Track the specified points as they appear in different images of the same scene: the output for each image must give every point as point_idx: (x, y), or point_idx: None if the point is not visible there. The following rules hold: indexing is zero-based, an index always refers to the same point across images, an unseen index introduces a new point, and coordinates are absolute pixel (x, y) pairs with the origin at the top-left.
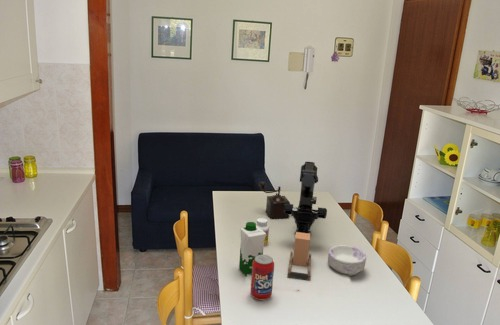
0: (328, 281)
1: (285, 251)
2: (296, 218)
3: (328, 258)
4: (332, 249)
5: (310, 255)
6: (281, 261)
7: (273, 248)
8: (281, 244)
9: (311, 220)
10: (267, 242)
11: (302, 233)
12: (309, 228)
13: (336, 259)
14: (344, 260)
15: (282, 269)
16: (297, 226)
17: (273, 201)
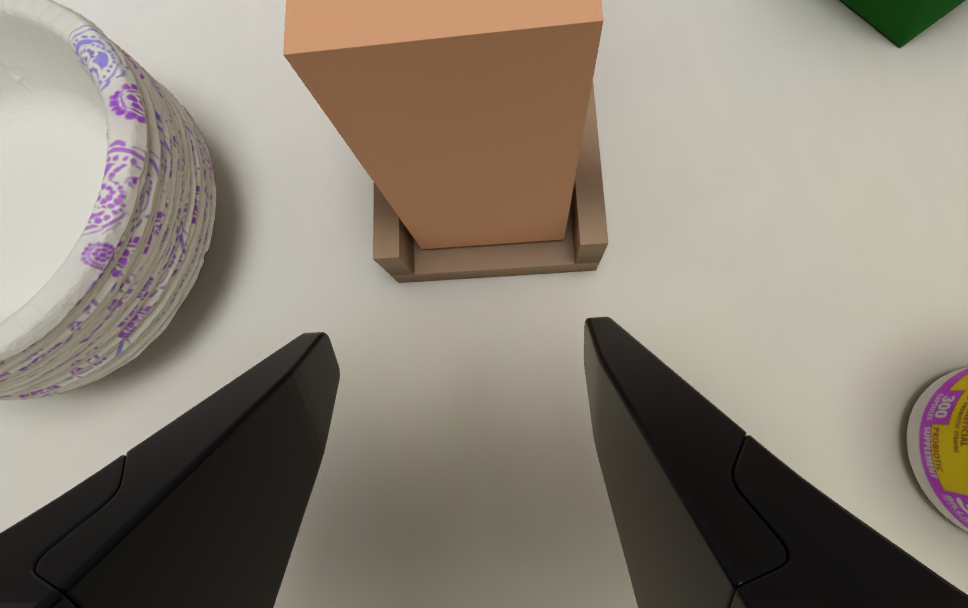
0: (259, 39)
1: None
2: (762, 483)
3: (187, 161)
4: (84, 232)
5: (381, 224)
6: (667, 199)
7: (817, 443)
8: None
9: (113, 495)
10: (952, 443)
11: (449, 2)
12: (298, 341)
13: (78, 16)
14: (40, 211)
15: (630, 75)
16: (610, 331)
17: None
